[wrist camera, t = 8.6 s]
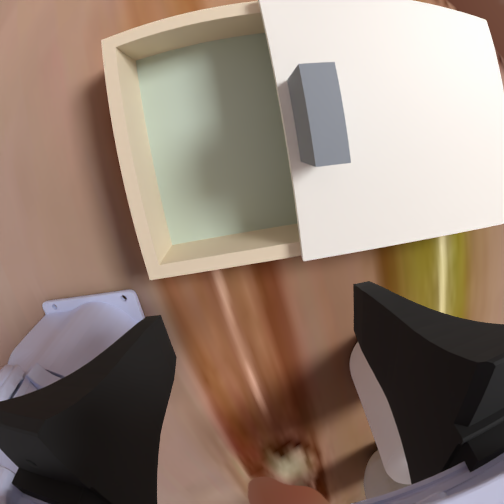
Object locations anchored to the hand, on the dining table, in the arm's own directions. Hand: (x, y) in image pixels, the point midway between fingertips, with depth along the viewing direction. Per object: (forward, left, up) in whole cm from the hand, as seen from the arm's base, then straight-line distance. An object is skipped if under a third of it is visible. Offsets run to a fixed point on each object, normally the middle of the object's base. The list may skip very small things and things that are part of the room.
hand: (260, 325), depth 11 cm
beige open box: (+2, +7, -10) cm, 12 cm away
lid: (+10, +7, -6) cm, 13 cm away
